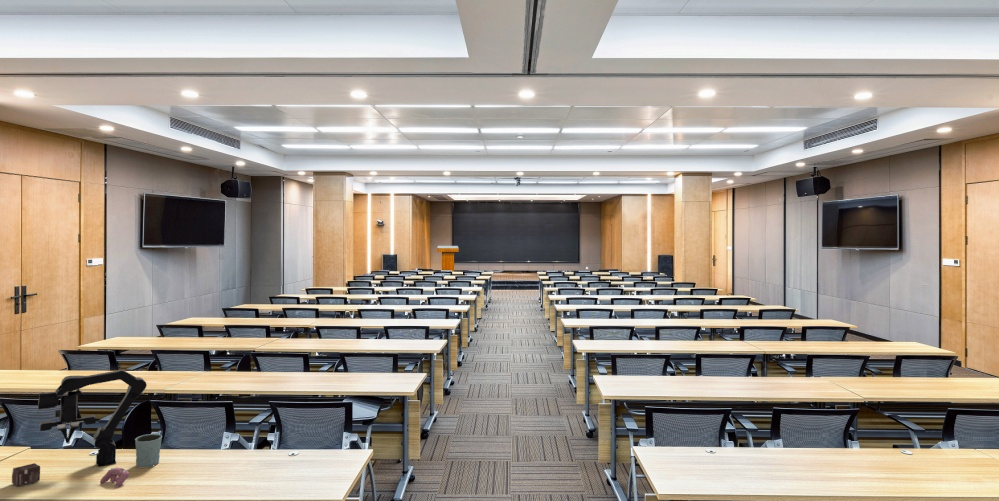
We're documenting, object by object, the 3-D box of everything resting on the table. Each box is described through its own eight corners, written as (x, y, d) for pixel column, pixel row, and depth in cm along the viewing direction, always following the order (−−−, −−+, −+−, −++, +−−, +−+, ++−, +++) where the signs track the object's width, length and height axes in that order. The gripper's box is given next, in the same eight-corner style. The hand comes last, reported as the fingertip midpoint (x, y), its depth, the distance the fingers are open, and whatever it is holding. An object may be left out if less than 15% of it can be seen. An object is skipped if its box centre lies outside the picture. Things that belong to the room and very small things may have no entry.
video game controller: (125, 488, 224) (133, 470, 227) (115, 487, 221) (123, 468, 224) (107, 484, 227) (115, 466, 231) (97, 483, 224) (106, 465, 227)
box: (40, 480, 225) (17, 487, 219) (34, 477, 228) (11, 483, 222) (40, 466, 225) (17, 471, 219) (34, 462, 228) (12, 468, 222)
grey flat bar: (33, 474, 232) (33, 473, 232) (33, 483, 223) (33, 483, 223) (23, 476, 230) (23, 475, 230) (23, 485, 221) (23, 485, 221)
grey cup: (155, 458, 253) (156, 432, 253) (165, 463, 247) (166, 437, 247) (130, 465, 245) (131, 437, 245) (140, 470, 239) (140, 442, 239)
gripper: (93, 398, 249) (92, 433, 249) (40, 405, 237) (38, 441, 237) (96, 404, 241) (95, 440, 240) (40, 411, 228) (39, 449, 228)
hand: (67, 442), depth 237 cm, fingers closed
